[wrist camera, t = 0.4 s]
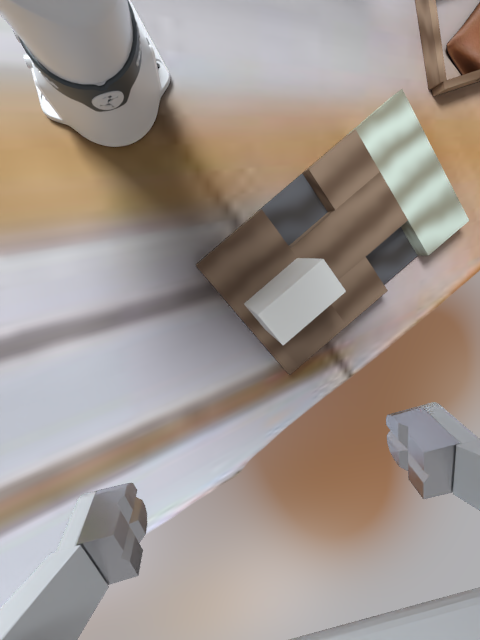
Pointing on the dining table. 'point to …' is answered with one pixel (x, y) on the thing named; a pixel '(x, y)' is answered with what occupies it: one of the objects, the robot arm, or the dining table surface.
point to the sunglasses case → (467, 44)
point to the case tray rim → (437, 52)
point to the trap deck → (343, 226)
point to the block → (295, 297)
